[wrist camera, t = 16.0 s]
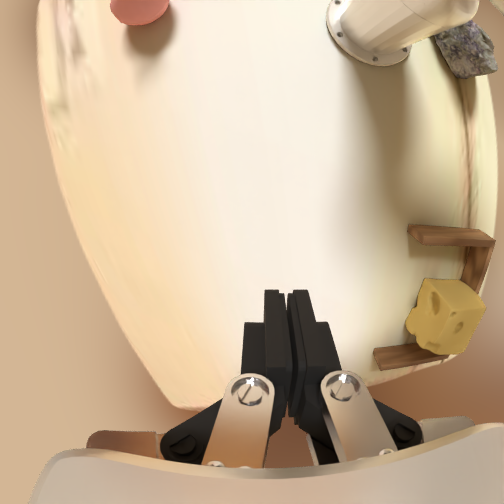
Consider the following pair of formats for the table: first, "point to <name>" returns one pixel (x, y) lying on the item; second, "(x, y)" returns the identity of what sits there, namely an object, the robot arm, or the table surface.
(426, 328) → the cheese
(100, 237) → the table surface
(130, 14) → the pink rounded piece
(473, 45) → the mineral rock
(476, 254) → the wooden u-shaped bracket
